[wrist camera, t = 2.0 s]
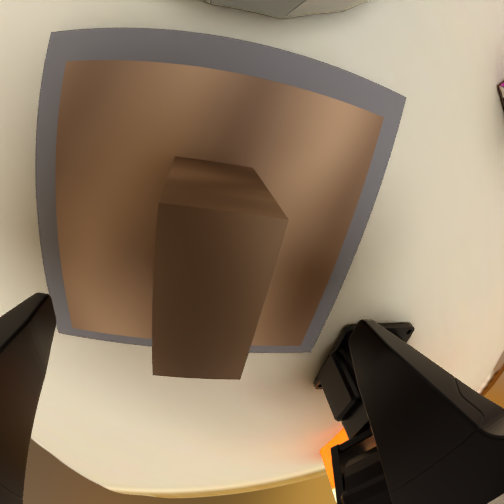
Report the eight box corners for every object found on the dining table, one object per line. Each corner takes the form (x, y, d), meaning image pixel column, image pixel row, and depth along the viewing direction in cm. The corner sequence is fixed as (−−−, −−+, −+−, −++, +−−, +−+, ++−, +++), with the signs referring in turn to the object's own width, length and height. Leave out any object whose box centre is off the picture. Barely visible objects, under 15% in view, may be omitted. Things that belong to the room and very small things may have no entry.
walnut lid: (374, 115, 12) (468, 142, 7) (296, 336, 18) (327, 416, 13) (73, 62, 8) (-11, 53, 3) (76, 318, 14) (48, 403, 9)
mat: (401, 96, 12) (406, 97, 11) (308, 348, 19) (310, 352, 19) (55, 33, 8) (51, 32, 7) (60, 328, 15) (58, 332, 15)
